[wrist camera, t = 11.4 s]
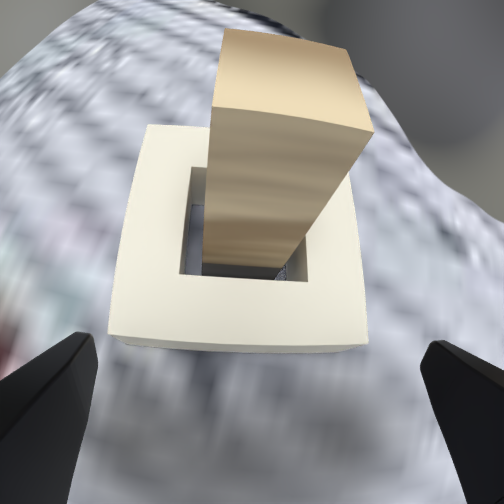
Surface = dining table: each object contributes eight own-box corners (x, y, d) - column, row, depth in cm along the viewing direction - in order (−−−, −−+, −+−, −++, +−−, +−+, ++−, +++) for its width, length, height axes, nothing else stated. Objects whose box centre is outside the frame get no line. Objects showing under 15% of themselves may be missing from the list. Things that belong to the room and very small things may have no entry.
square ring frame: (336, 352, 18) (368, 343, 15) (126, 344, 17) (107, 333, 13) (322, 180, 23) (343, 145, 19) (153, 164, 21) (147, 124, 18)
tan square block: (269, 285, 19) (374, 132, 7) (201, 280, 19) (211, 106, 7) (269, 224, 21) (346, 49, 9) (206, 219, 20) (225, 28, 8)
